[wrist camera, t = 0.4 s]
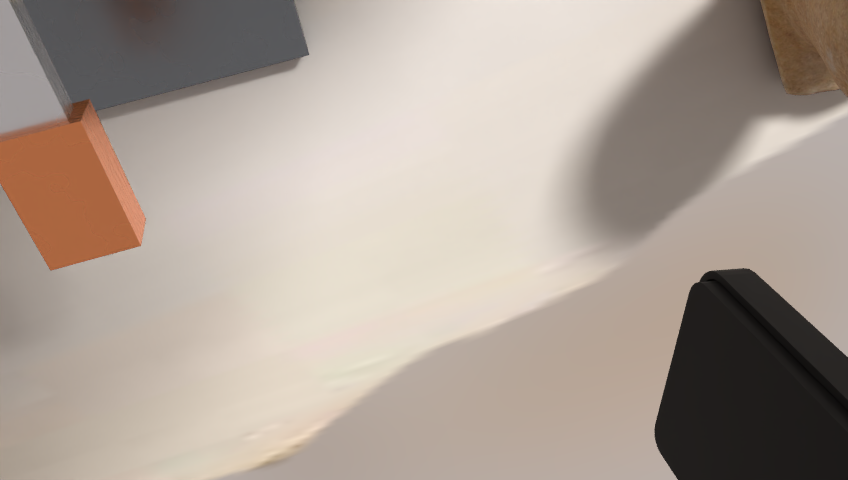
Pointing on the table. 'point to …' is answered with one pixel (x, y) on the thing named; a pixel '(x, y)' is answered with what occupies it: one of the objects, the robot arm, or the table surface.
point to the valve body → (161, 43)
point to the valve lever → (58, 156)
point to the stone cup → (809, 43)
